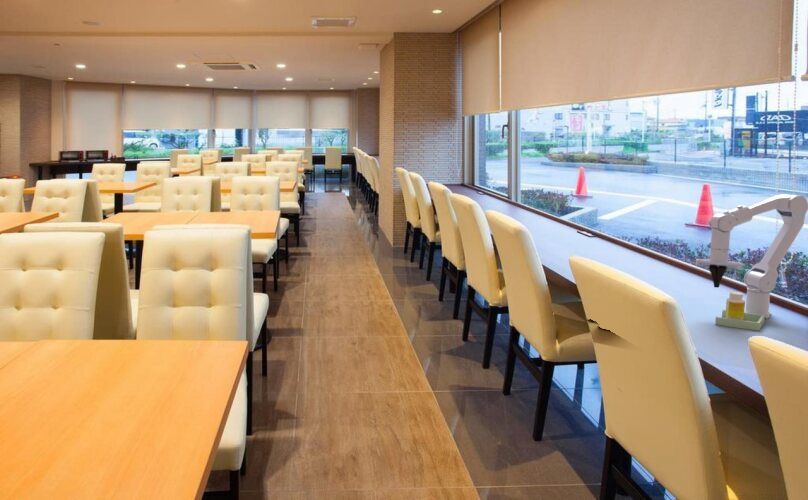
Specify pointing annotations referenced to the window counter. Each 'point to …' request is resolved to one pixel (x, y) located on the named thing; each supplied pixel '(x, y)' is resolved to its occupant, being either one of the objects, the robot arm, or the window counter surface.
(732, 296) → the supplement bottle
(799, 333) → the window counter surface
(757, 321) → the tray
